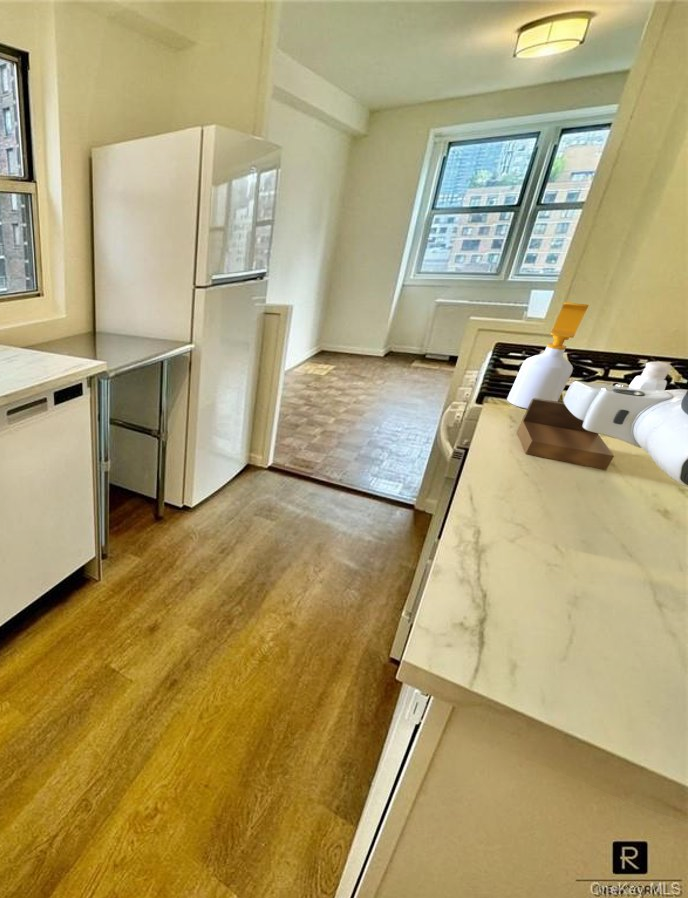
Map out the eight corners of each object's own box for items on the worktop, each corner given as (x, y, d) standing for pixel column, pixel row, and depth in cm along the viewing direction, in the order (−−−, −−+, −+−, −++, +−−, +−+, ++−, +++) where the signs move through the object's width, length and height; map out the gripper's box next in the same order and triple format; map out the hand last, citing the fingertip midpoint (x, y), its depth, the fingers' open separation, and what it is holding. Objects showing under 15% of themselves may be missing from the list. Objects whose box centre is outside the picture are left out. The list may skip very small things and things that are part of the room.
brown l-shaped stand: (589, 444, 100) (609, 409, 96) (606, 469, 91) (628, 431, 87) (516, 431, 105) (532, 397, 101) (525, 453, 96) (543, 417, 92)
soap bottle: (503, 404, 119) (548, 302, 107) (509, 395, 124) (552, 297, 113) (551, 415, 113) (604, 308, 102) (555, 404, 119) (605, 302, 107)
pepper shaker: (654, 437, 77) (694, 371, 72) (609, 431, 79) (646, 366, 74) (637, 424, 81) (674, 361, 76) (595, 419, 83) (628, 357, 78)
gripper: (804, 417, 61) (748, 384, 72) (589, 388, 71) (567, 363, 81) (772, 460, 64) (722, 423, 75) (570, 427, 74) (551, 398, 84)
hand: (640, 392), depth 78 cm, fingers closed on pepper shaker, 4 cm apart
